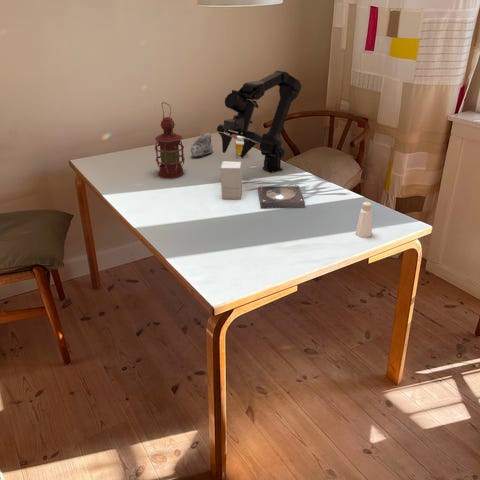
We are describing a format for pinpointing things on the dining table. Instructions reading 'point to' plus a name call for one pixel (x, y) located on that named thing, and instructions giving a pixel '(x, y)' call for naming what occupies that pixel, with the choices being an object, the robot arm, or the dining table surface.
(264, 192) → the motor mount
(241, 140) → the supplement bottle
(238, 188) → the supplement box
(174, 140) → the lantern
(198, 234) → the dining table surface
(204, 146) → the mineral rock
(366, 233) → the pepper shaker
